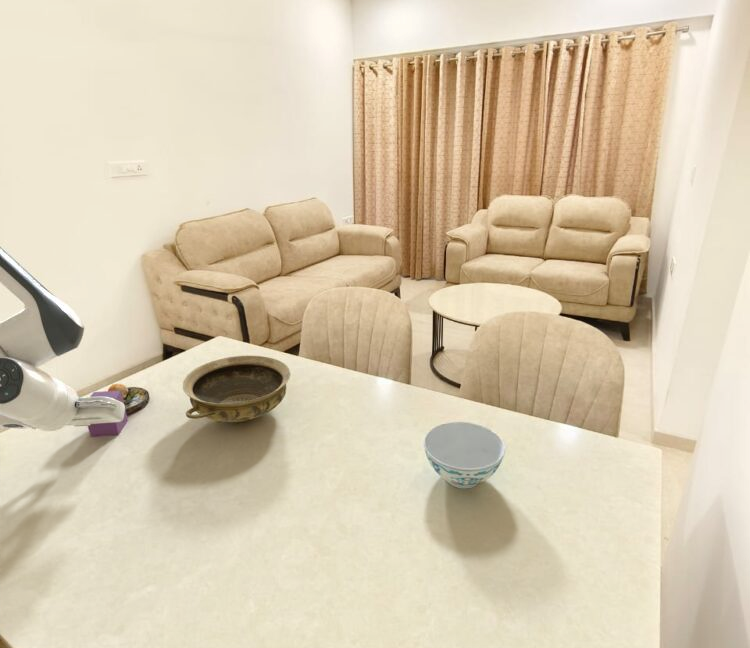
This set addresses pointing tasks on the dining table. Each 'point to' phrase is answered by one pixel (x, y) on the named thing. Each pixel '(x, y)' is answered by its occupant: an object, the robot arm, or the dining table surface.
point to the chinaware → (463, 452)
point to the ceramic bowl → (236, 388)
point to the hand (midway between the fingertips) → (83, 422)
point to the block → (108, 428)
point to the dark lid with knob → (132, 397)
